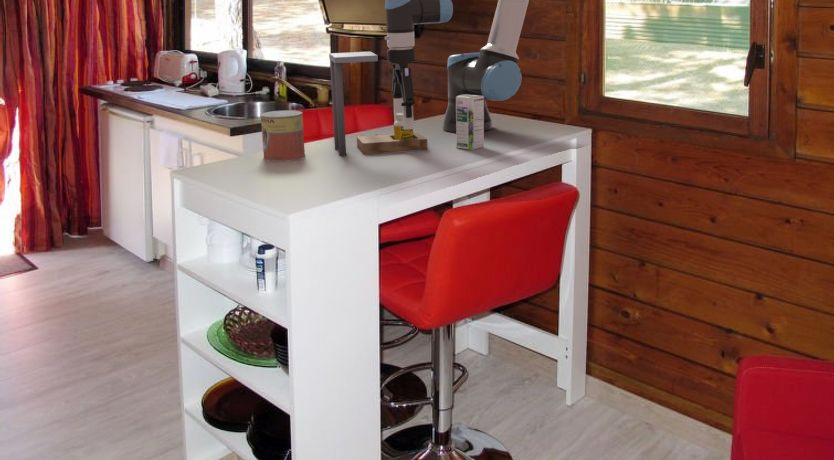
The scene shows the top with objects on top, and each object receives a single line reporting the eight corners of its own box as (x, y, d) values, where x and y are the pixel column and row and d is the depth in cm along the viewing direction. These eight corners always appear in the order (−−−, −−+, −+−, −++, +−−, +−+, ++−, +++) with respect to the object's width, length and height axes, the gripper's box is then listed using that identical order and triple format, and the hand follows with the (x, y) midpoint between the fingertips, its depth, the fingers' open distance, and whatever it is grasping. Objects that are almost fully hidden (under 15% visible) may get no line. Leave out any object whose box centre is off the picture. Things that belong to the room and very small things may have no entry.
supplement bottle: (407, 145, 264) (405, 111, 262) (417, 147, 260) (416, 113, 257) (390, 147, 262) (389, 113, 259) (401, 150, 257) (400, 115, 255)
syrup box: (455, 148, 258) (454, 96, 254) (469, 144, 262) (468, 93, 258) (471, 150, 254) (470, 97, 250) (484, 147, 258) (484, 95, 254)
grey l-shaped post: (374, 145, 265) (370, 51, 258) (381, 153, 254) (377, 55, 246) (334, 148, 263) (329, 53, 255) (339, 156, 252) (334, 57, 244)
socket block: (419, 142, 267) (418, 132, 266) (427, 149, 257) (427, 139, 256) (357, 146, 264) (356, 136, 263) (363, 154, 253) (362, 143, 252)
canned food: (259, 155, 255) (255, 112, 252) (298, 151, 260) (295, 109, 256) (269, 163, 245) (266, 118, 242) (310, 158, 250) (307, 114, 246)
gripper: (379, 45, 264) (382, 118, 270) (395, 52, 241) (399, 133, 247) (405, 43, 266) (408, 117, 272) (424, 51, 242) (426, 131, 248)
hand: (403, 125), depth 259 cm, fingers open, 13 cm apart
